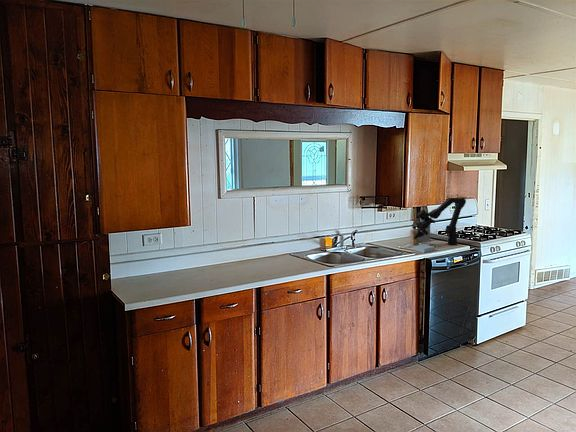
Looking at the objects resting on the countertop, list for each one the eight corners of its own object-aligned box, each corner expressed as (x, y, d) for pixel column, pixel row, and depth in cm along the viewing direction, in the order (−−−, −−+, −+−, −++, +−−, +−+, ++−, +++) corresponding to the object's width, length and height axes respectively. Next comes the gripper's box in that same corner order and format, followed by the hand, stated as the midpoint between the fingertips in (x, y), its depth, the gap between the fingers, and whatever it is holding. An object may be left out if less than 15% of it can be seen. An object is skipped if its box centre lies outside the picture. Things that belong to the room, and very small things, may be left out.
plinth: (423, 248, 375) (423, 244, 374) (435, 250, 365) (435, 246, 364) (412, 250, 369) (412, 246, 368) (424, 252, 359) (424, 248, 358)
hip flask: (416, 242, 395) (416, 219, 393) (413, 242, 399) (413, 218, 396) (430, 240, 402) (431, 217, 399) (427, 240, 406) (427, 217, 403)
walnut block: (416, 245, 382) (416, 229, 380) (418, 246, 377) (419, 230, 375) (410, 245, 381) (410, 229, 379) (413, 246, 376) (413, 231, 374)
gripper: (414, 215, 385) (401, 229, 385) (424, 218, 367) (411, 233, 367) (423, 224, 388) (410, 238, 388) (433, 228, 370) (420, 242, 369)
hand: (413, 238), depth 378 cm, fingers closed on walnut block, 5 cm apart
